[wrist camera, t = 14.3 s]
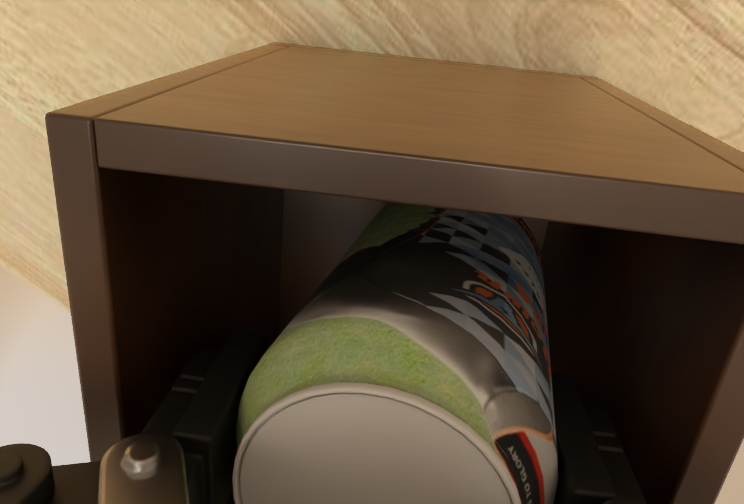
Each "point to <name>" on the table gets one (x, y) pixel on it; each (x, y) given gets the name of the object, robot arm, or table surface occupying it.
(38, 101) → the table surface
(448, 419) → the beverage can
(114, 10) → the table surface
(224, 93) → the chest
